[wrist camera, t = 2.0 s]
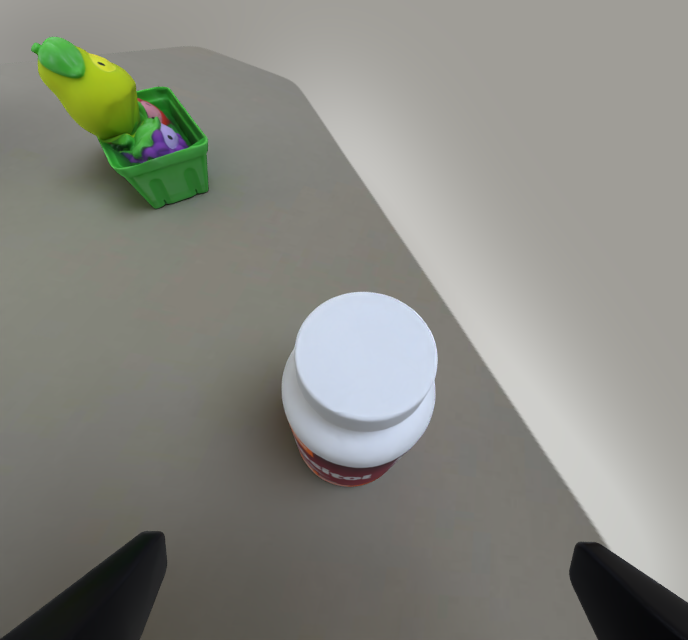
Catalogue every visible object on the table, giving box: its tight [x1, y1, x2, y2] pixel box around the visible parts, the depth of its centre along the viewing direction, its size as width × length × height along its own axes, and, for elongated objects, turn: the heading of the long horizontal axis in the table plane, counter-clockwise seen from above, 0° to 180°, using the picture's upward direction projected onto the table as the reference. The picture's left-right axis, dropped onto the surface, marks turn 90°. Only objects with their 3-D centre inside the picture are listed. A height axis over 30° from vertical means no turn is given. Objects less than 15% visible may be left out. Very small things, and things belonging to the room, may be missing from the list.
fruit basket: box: [31, 37, 208, 209], centre depth 28 cm, size 11×9×11 cm
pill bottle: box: [282, 292, 438, 487], centre depth 15 cm, size 6×6×11 cm
